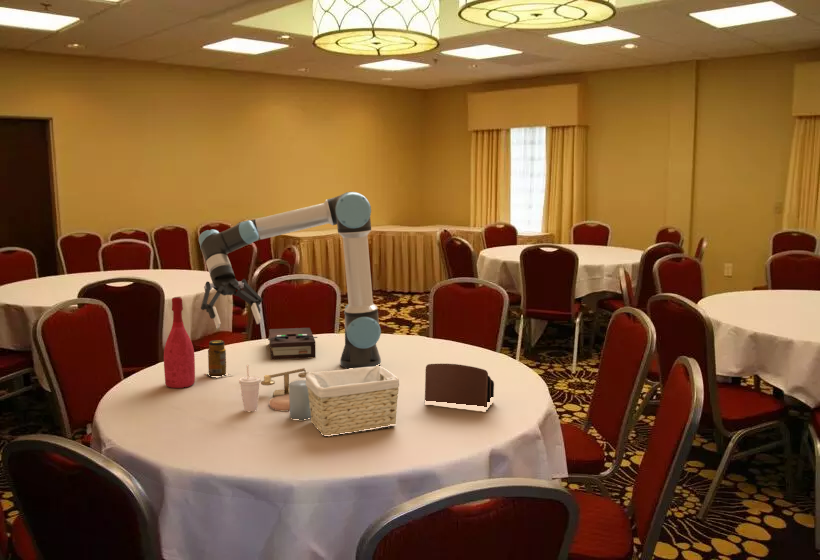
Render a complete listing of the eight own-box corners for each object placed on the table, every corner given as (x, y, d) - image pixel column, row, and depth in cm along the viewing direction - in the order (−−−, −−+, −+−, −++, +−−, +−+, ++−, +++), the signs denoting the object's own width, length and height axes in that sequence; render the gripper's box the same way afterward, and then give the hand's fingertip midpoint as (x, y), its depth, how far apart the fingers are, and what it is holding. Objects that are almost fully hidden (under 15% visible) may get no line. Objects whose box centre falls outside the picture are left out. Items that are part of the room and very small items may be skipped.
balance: (312, 392, 234) (312, 366, 233) (311, 396, 229) (311, 370, 228) (262, 392, 234) (261, 366, 232) (259, 397, 229) (259, 370, 227)
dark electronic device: (312, 324, 304) (319, 340, 275) (312, 341, 305) (319, 359, 276) (265, 326, 300) (268, 342, 271) (266, 343, 301) (268, 362, 272)
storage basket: (318, 440, 193) (318, 387, 190) (304, 421, 207) (303, 371, 205) (401, 429, 202) (401, 378, 199) (381, 411, 216) (381, 364, 214)
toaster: (486, 413, 216) (487, 368, 214) (424, 405, 222) (424, 361, 220) (493, 403, 225) (495, 360, 223) (433, 396, 231) (434, 354, 229)
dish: (310, 398, 228) (310, 394, 228) (306, 410, 216) (306, 406, 216) (272, 398, 227) (272, 394, 227) (266, 410, 215) (266, 406, 215)
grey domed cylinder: (314, 412, 215) (314, 380, 213) (312, 420, 208) (312, 387, 206) (291, 412, 214) (290, 380, 213) (288, 420, 207) (287, 387, 206)
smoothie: (241, 406, 219) (240, 362, 217) (262, 406, 220) (261, 362, 218) (238, 413, 213) (236, 368, 211) (260, 413, 213) (259, 367, 211)
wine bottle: (201, 383, 243) (198, 296, 239) (181, 390, 234) (177, 300, 230) (179, 379, 247) (176, 293, 243) (158, 386, 238) (154, 298, 234)
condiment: (222, 370, 258) (221, 338, 257) (233, 376, 252) (232, 342, 250) (203, 374, 254) (202, 341, 252) (213, 379, 247) (212, 345, 246)
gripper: (252, 275, 247) (271, 326, 237) (180, 280, 232) (198, 334, 223) (259, 262, 242) (278, 313, 232) (186, 265, 227) (204, 320, 218)
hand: (239, 323), depth 228 cm, fingers open, 13 cm apart
